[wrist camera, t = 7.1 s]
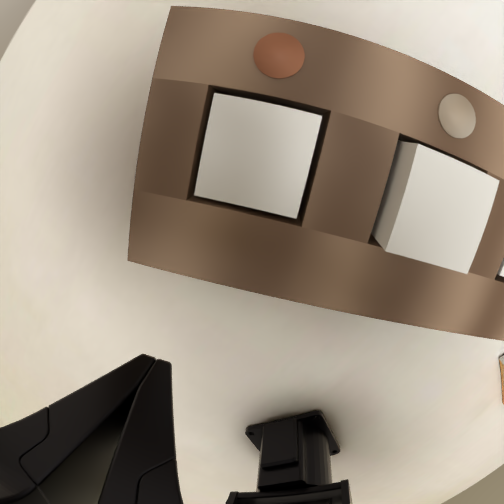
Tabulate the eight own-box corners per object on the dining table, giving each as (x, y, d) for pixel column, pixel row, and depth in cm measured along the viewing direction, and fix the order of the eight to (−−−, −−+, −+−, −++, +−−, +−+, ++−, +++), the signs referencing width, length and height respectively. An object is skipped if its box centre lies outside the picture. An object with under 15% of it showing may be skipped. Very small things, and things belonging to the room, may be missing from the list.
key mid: (466, 170, 13) (499, 180, 10) (440, 250, 15) (467, 273, 12) (392, 140, 13) (418, 143, 10) (367, 229, 15) (385, 251, 12)
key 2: (314, 119, 15) (322, 115, 12) (293, 203, 16) (296, 218, 14) (226, 99, 15) (214, 92, 12) (209, 183, 16) (194, 195, 14)
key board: (562, 169, 14) (600, 181, 10) (509, 316, 18) (536, 346, 15) (194, 30, 14) (169, 4, 10) (156, 234, 19) (125, 262, 15)
